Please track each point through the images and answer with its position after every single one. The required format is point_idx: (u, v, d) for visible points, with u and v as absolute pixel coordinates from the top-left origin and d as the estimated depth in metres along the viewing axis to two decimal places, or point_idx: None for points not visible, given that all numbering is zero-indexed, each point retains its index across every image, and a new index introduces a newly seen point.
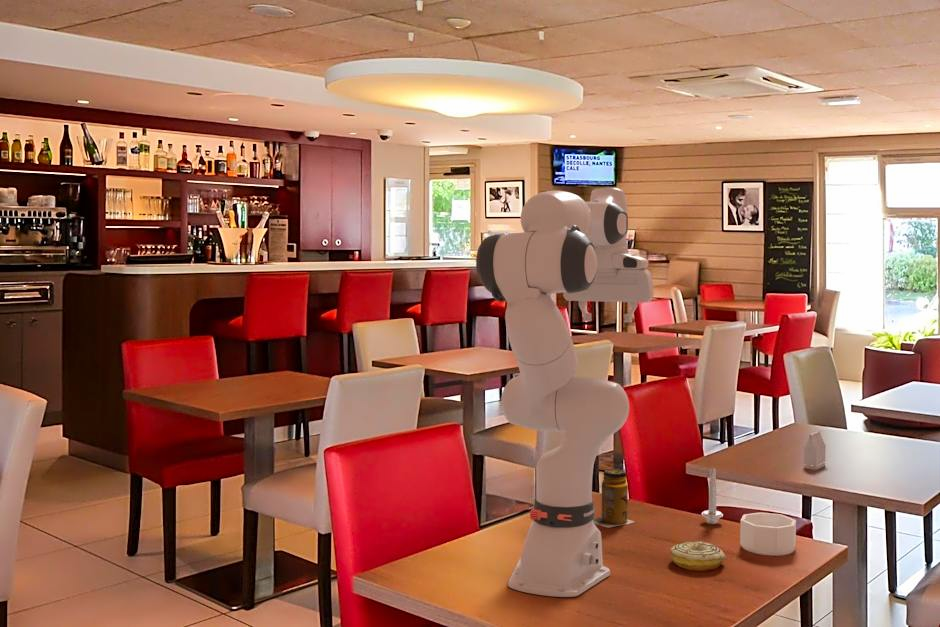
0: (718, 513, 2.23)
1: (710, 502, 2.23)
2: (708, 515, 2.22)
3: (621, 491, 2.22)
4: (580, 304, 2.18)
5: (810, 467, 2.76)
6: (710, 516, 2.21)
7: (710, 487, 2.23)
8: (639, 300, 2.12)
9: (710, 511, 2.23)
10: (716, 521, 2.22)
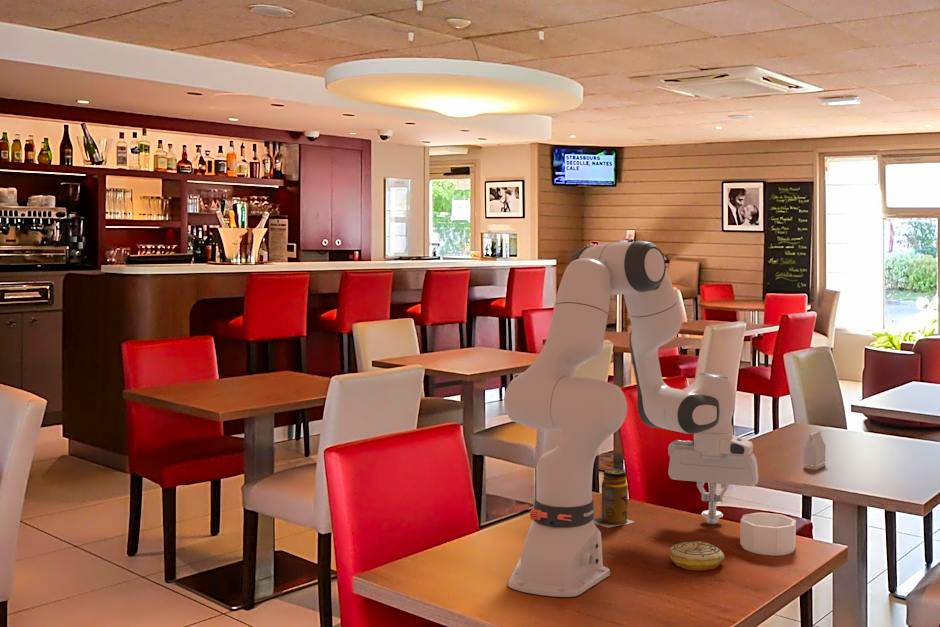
0: (718, 513, 2.23)
1: (710, 502, 2.23)
2: (708, 515, 2.22)
3: (621, 491, 2.22)
4: (698, 484, 2.23)
5: (810, 467, 2.76)
6: (710, 516, 2.21)
7: (710, 487, 2.23)
8: (745, 485, 2.18)
9: (710, 511, 2.23)
10: (716, 521, 2.23)
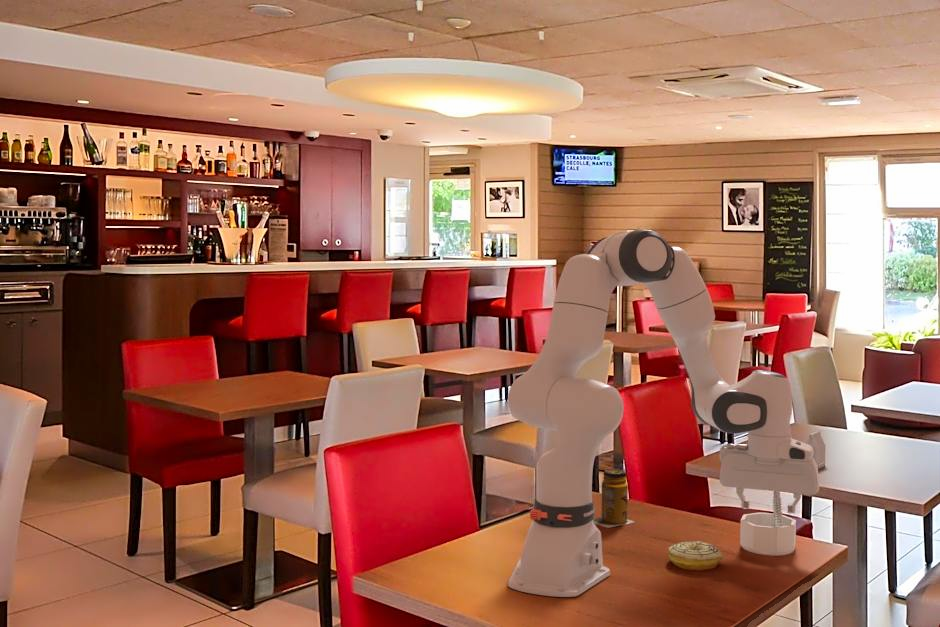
0: None
1: (776, 522, 2.03)
2: None
3: (621, 491, 2.22)
4: (738, 491, 2.06)
5: None
6: None
7: (775, 506, 2.03)
8: (805, 492, 2.00)
9: None
10: None
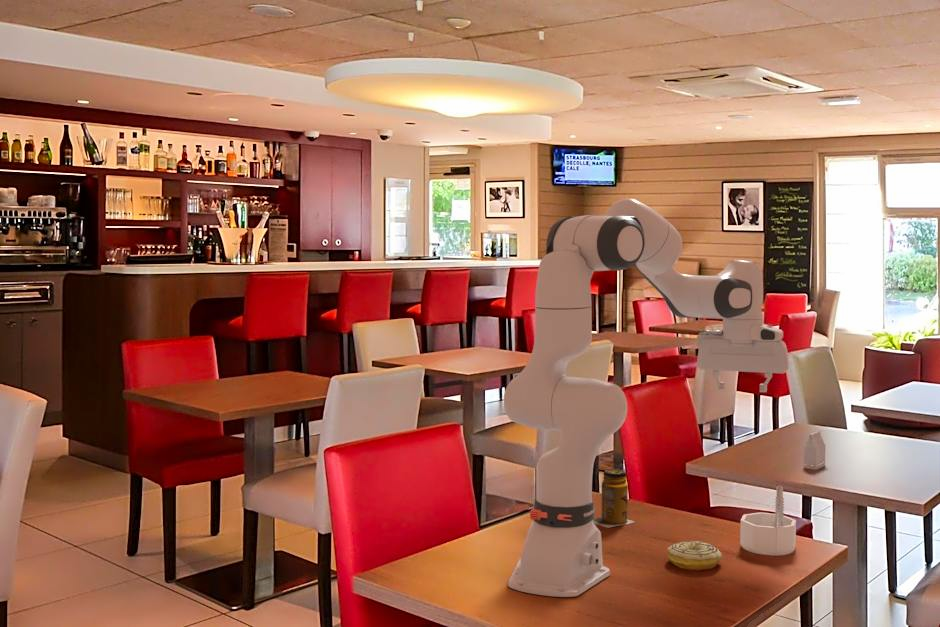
0: None
1: (777, 523, 2.03)
2: None
3: (621, 491, 2.22)
4: (714, 373, 2.22)
5: (810, 467, 2.76)
6: None
7: (777, 506, 2.03)
8: (776, 371, 2.16)
9: None
10: None
